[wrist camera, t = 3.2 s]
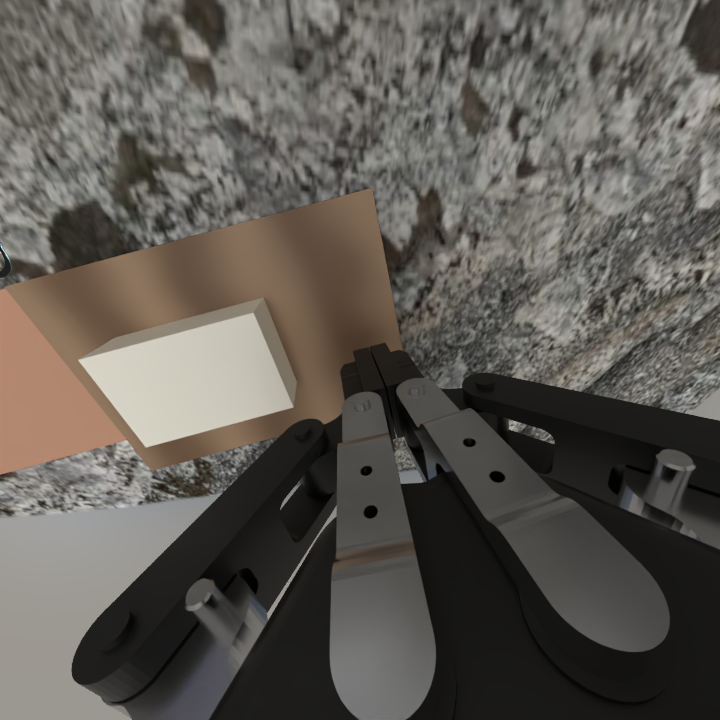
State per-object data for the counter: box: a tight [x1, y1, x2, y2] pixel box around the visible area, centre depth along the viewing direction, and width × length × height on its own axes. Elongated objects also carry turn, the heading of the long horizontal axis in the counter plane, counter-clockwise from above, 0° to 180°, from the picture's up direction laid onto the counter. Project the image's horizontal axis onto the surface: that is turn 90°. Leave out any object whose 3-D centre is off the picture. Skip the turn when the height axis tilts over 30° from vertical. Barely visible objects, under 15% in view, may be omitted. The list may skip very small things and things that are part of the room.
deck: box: [5, 188, 403, 471], centre depth 21 cm, size 20×14×4 cm
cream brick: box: [78, 298, 297, 447], centre depth 17 cm, size 9×6×3 cm, turn 104°
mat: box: [0, 289, 126, 474], centre depth 22 cm, size 14×13×1 cm
